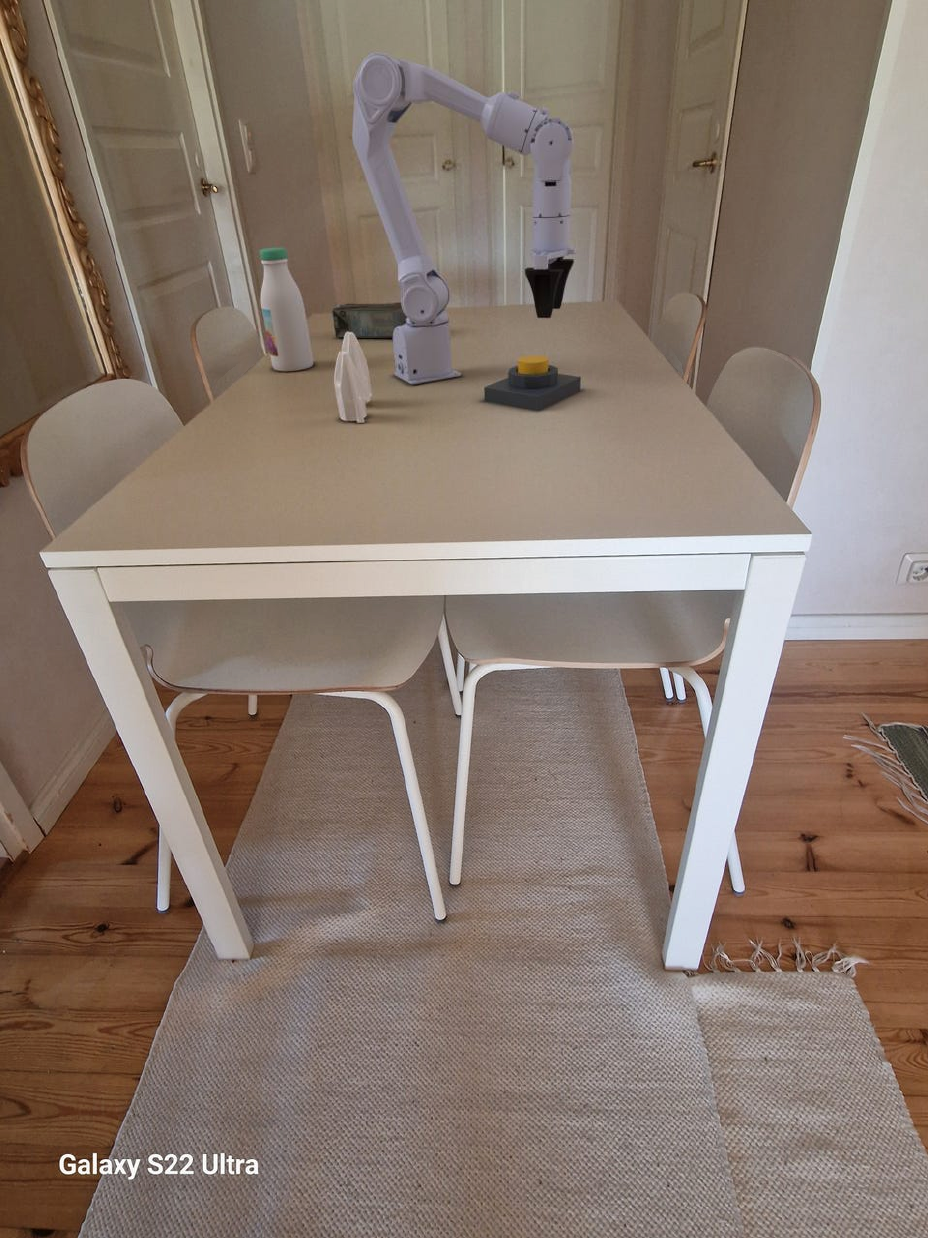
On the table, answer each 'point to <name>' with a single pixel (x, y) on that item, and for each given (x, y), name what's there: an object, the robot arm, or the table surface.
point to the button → (533, 364)
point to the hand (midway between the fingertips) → (549, 312)
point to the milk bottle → (284, 314)
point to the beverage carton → (368, 319)
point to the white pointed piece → (352, 381)
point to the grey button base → (532, 389)
